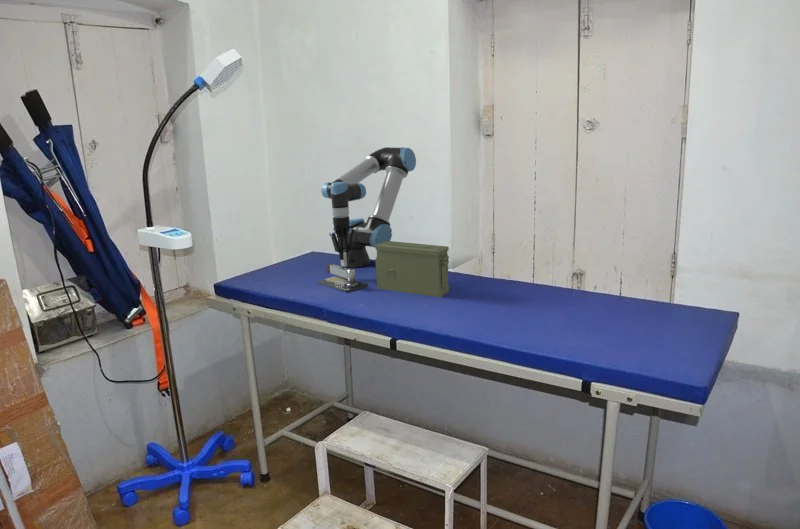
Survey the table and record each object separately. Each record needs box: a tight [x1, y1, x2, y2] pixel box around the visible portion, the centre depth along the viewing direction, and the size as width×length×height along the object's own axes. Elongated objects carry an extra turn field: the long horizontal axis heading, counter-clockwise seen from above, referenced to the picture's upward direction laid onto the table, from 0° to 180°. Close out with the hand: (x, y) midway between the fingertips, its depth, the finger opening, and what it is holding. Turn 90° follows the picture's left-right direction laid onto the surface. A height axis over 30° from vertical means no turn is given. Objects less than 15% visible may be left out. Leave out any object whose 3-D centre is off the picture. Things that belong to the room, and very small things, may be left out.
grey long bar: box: [325, 263, 357, 284], centre depth 273 cm, size 19×3×6 cm, turn 41°
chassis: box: [317, 275, 368, 294], centre depth 274 cm, size 12×22×2 cm, turn 41°
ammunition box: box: [375, 240, 450, 298], centre depth 259 cm, size 10×33×20 cm, turn 59°
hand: (344, 265), depth 281 cm, fingers closed
